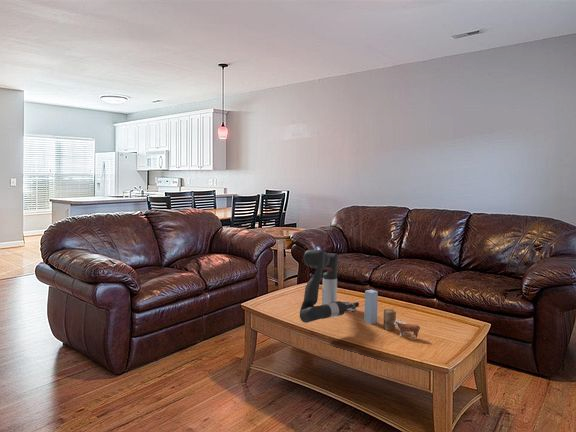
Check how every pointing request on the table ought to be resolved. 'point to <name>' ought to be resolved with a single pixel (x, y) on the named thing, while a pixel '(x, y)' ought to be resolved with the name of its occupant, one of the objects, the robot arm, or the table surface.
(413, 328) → the bull figurine
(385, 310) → the walnut block
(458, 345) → the table surface
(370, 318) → the bluegrey block
